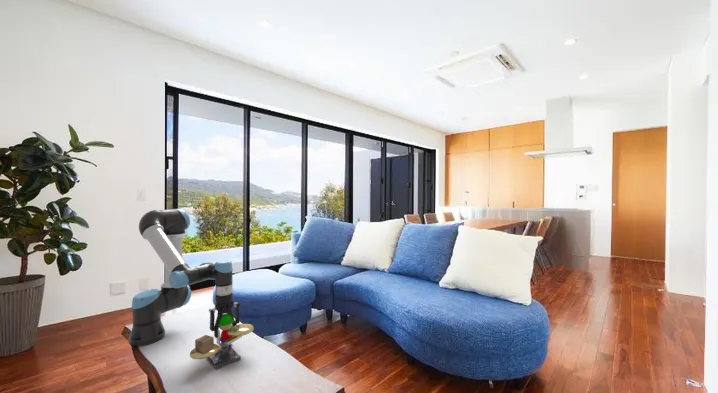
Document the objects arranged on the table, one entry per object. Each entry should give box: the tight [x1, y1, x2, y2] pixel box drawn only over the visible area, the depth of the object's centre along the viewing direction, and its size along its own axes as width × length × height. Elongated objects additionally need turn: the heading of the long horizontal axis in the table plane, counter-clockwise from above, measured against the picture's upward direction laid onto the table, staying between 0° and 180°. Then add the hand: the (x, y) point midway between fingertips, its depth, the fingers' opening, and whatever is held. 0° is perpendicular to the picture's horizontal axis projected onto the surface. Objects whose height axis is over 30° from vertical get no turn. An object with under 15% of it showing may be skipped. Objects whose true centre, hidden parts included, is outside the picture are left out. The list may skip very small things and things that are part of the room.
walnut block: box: [194, 334, 215, 354], centre depth 130 cm, size 5×5×5 cm
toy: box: [218, 313, 235, 347], centre depth 147 cm, size 8×8×15 cm
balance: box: [189, 323, 255, 370], centre depth 135 cm, size 12×26×11 cm, turn 133°
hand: (225, 341), depth 147 cm, fingers closed on toy, 6 cm apart
